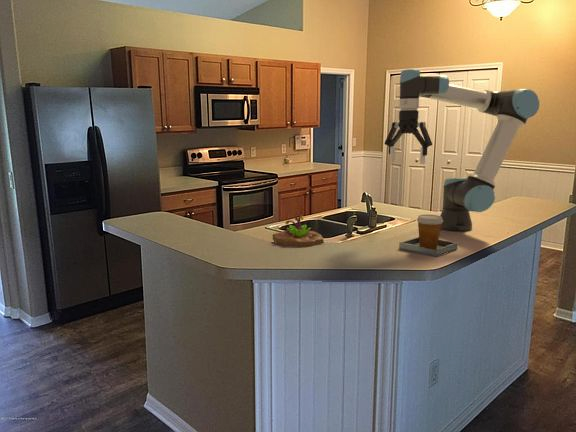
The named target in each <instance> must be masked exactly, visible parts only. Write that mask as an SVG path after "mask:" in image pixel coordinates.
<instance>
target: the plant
mask: <svg viewBox="0 0 576 432" xmlns="http://www.w3.org/2000/svg"><path fill="white" fill-rule="evenodd" d="M294 220H295V221H294ZM294 220H287V221H285V225H289V226H288V227H289V228H288V227H287V229H285V230H283V231H279V232H276V233H273V234H272V240H273V242H274V243H275V244H278V243H279V244H278V245H280V244H281V246H283V245H284V246H283V247H286V246H297V247H296V248H301V247H300V246H305V247H314V246H316V245H323V244H324V237H323V236H322V234H320V233H318V232H316V231H314V230H312V231H311V228H312V227H308V226H307V224H303V225H302V224H301V221H303V220H304V216H303V215H302V214H300V215H299V216H295V219H294ZM289 223H292V224H293V225H292V224H289ZM298 246H299V247H298Z"/></svg>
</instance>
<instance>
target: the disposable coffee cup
mask: <svg viewBox="0 0 576 432" xmlns="http://www.w3.org/2000/svg"><path fill="white" fill-rule="evenodd" d="M416 221H417V226H418V228H417V229H418V237H419V242H420V246H421V247H426V248H430V249H436V248H437V245H438V239H440V232H441V230H442V229H441V224H442V222H443V220H442V217H441V216H440V215H437V214H419V215H418V216H417V219H416Z"/></svg>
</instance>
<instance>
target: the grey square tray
mask: <svg viewBox="0 0 576 432" xmlns="http://www.w3.org/2000/svg"><path fill="white" fill-rule="evenodd" d="M398 245H399V247H398V249H399V250H404V251H407V252H410V253H411V252H412V253H416V254H421V255H425V256H430V257H435V258H437V257H440V256H443V255H445V254H444V253H446V254H448V253H451V252H453V250H454V251H457V250H458V246H459V242H456V241H450V240H445V239H440V238H439V239H438V245H437V248H436V249H430V248H426V247H421V246H420V242H419V236H417V237H413V238H410V239H407V240H404V241H400V242H398ZM456 249H457V250H456ZM450 251H451V252H450ZM447 252H448V253H447ZM442 254H443V255H442ZM439 255H440V256H439Z"/></svg>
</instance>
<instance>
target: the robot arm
mask: <svg viewBox="0 0 576 432" xmlns="http://www.w3.org/2000/svg"><path fill="white" fill-rule="evenodd" d="M399 78H400V79H399V109H400V110H399V111H398V122H396V121H393V122H392V123H391V128H390V130H389V132H388V135H387V137H386V139H385V142H384V145H385V146H388V154H389V163H391V164H393V163H396V146H395V145H396V143H397V142H398V141H399V140H400V138H401V137H402V136H403V135H404V134H409V135H410V134H413V135H414V137H415V138H416V140H417V142H418V143H419V144H420V145H421V147H420V150H419V152H420V153H419V165H425V164H426V156H427V155H428V147H431V146H433V141H432V140H431V137H430V134H429V132H428V130H427V126H426V122H425V121H420V122H419V121H418V120H419V113H420V112H419V110H418V109H419V108H420V107H419V106H420V98H426V99H431V100H436V101H441V102H444V103H448V104H453V105H459V106H463V107H468V108H472V109H476V110H477V112H479V113H483V114H487V115H491V116H495V117H496V118H497V124H496V125H495V127H494V130H493V132H492V133H491V136H490V137H489V141H488V142H487V144H486V146H485V148H484V150H483V152H482V154H481V157H480V159H479V161H478V163H477V164H476V167H475V169H474V172H473V173H471V174H469V175H468V176H467V177H455V178H454V177H452V178H448V177H447V178H445V179H444V181H443V185H442V187H443V191H442V192H443V193H442V197H443V198H442V211H441V212H440V215H439V216H441V217H442V220H443V222H442V224H441V229H440V230H445V231H451V232H467V231H472V230H473V222H472V219H471V218H472V217H471V214H470V212H473V213H483V212H485V211H488V210H489V209H490V208H491V207H492V206H493V204H494V202H495V199H496V195H495V190H494V189H495V188H496V184H495V182H494V180H495V179H496V177H497V175H498V172H499V171H500V168H501V167H502V164H503V162H504V160H505V158H506V156H507V153H509V150H510V147H511V145H512V143H513V142H514V139H515V137H516V135H517V132H518V131H519V129H520V128H522V127H525V126H526V123H527V121H528V119H530V118H532V117H534V116H535V115H536V114H537V113H538V111H539V108H540V99H539V97H538V94H537V93H536V92H535V91H534V90H532V89H530V88H518V89H507V90H490V89H485V90H483V91H482V90H477V89H473V88H469V87H464V86H460V85H454V84H450V80H449V77H448V76H447V75H445V74H421V70H420V69H417V68H416V69H415V68H413V69H411V68H409V69H403V70H401V72H400V77H399ZM418 127H419V128H420V131H419V129H418ZM398 128H399V129H398ZM397 129H398V130H397ZM396 131H397V132H396ZM420 132H421V133H420ZM395 133H396V134H395Z"/></svg>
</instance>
